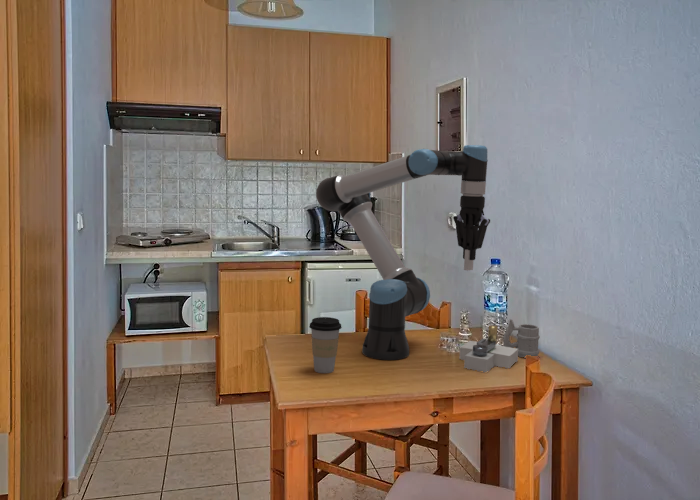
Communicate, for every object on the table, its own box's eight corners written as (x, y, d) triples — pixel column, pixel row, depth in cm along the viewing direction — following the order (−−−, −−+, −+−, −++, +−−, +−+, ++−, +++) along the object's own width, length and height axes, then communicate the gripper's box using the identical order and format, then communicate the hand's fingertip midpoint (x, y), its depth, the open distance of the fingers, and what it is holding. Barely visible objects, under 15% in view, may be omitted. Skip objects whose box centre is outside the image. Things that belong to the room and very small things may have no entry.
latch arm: (483, 356, 190) (485, 335, 189) (470, 354, 193) (471, 332, 192) (500, 347, 202) (501, 326, 201) (486, 344, 204) (488, 324, 203)
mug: (541, 359, 204) (544, 323, 203) (504, 357, 205) (506, 321, 203) (535, 352, 212) (538, 317, 210) (500, 351, 213) (502, 316, 211)
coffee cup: (316, 377, 180) (317, 325, 178) (302, 367, 188) (304, 317, 186) (345, 373, 184) (347, 322, 182) (331, 363, 193) (333, 315, 191)
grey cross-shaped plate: (459, 359, 202) (460, 340, 201) (469, 352, 210) (470, 334, 209) (509, 368, 194) (510, 349, 193) (517, 361, 202) (518, 342, 201)
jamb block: (464, 368, 193) (465, 344, 192) (471, 362, 199) (473, 339, 198) (486, 372, 189) (488, 348, 188) (493, 366, 195) (495, 342, 194)
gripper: (497, 196, 196) (492, 271, 199) (463, 194, 205) (459, 266, 208) (482, 196, 191) (477, 273, 194) (448, 194, 200) (444, 267, 203)
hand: (468, 269), depth 201 cm, fingers closed
